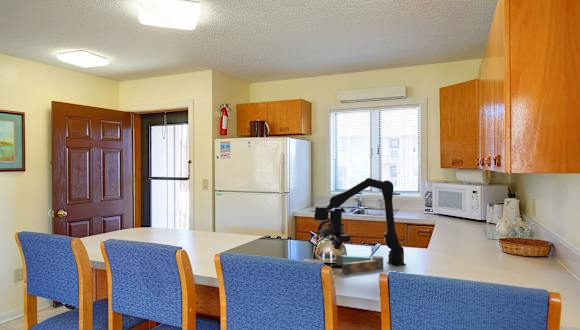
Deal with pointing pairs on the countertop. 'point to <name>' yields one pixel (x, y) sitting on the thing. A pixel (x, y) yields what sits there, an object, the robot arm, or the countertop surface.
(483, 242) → the countertop surface
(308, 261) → the charger
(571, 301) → the countertop surface
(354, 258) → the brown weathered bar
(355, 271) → the wooden block
